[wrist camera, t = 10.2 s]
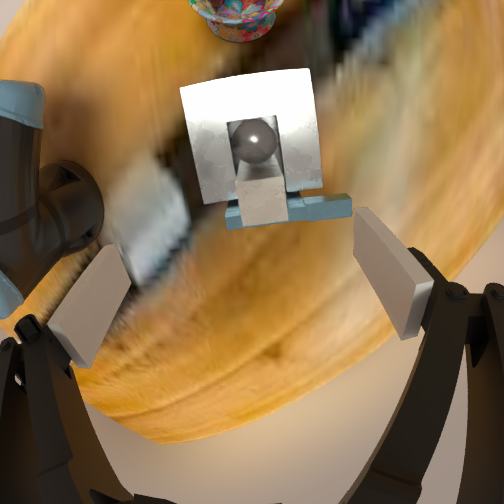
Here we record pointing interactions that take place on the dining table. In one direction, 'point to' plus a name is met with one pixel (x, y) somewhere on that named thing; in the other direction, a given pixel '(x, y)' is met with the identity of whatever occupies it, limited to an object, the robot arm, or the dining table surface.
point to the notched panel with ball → (259, 140)
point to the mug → (238, 17)
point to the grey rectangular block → (261, 192)
